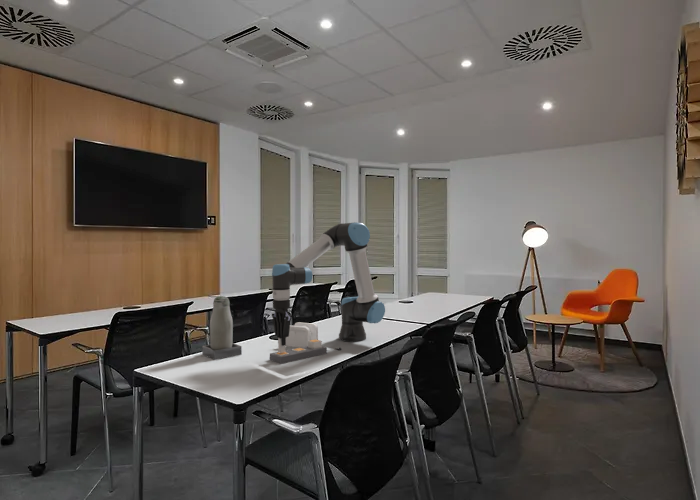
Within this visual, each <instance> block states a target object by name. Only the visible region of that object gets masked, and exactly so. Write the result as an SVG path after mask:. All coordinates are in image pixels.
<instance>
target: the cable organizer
mask: <svg viewBox="0 0 700 500" xmlns="http://www.w3.org/2000/svg"><path fill="white" fill-rule="evenodd" d="M315 339H316V340H319V327H318V325H317V324H316V323H309V322H300V321H299V322H295V323H294V325H291V324H290V330H289V337H286V345H285V347H287V348H288V347H293V348H300V347H305V346H308V341H310V340H315Z"/></svg>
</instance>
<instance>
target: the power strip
mask: <svg viewBox="0 0 700 500" xmlns="http://www.w3.org/2000/svg"><path fill="white" fill-rule="evenodd" d="M297 348H298V347H294V349H297ZM300 348H302V349H306V351H303V352H294V351H292V349H293V348H291V349H286V352H287V353H289V355H284V356H279V355H276V354H275V353H279V351H277V352H271V353H269V360H270V361H272V362H274V363H277V364H280V365H282V364H286V363H290V362H296V361H299V360H305V359H309V358H313V357H317V356H321V355H326V354H328V351H329V349H327V348H328V347H326V346H323V345H322V348H317V349H312V348H308V346H305V347H300ZM331 350H335V351H342V347H336V348H331V349H330V351H331Z"/></svg>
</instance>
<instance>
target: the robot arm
mask: <svg viewBox="0 0 700 500" xmlns="http://www.w3.org/2000/svg"><path fill="white" fill-rule="evenodd" d="M370 233H371V232H370V230H369V228H368V227H367V225H365V224H364V223H362V222H355V221H354V222H346V223H344V222H343V223H338V224H335V225H334V226H332V227H330V228H329V229H327V230H326V231H324V232H323V233H321V234H320V236H319V238H318V239H316V241H314V242H313V243H311V244H310V245H309V246H307V247H306V248H304V249H303V250H302V251H301V252H300V253H298V254H296V255H295V256H294V257H293V258H291V259H290V260H288V261H287V262H286V263H278V264H277V263H275V264H274V265H273V266H272V268H271V269H272V270H271V271H272V272H271V277H272V278H271V279H272V299H273V300H272V308H273V309H274V312H273V313H271V317H272V320H273V321H272V323H273V328H274V335H275V336H277V343H278V347H277V348H278V349H277V350H278V352H279V353H284V352H286V350H287V349H286V347H287V346H285V345H286V337H289V330H290V325H291V320H292V319H293V317H292V315H289V308H290V307H291V300H290V298H291V288H290V287H291V285H306V284H309V283H311V282H312V281H313V271H312V269H311V268H309V265H311V264H312V263H314V262H315V261H316V260H317V259H319V258H320V257H321V256H323V255H324V254H326V253H327V252H328V251H333V250H334V249H335V248H337V247H342V246H343V247H344V249H345V252H347V254H349V260H350V263H351V268H352V273H353V278H354V283H355V286H356V291H357V296H351V297H343V298H342V299H341V305H340V306H341V309H340V310H341V327H340V330H339V333H338V340H340V341H344V342H361V341H365V340H366V339H367V333H366V331H365V327H364V323H368V324H379V323H380V322H381V321H382V320H383V318H384V316H385V314H386V306H385V304H384V303H383V302H382V301H381V300H380V299H379V295H378V294H376V293H375V291H374V290H375V289H374V285H373V281H372V280H373V279H372V275H371V271H370V266H369V262H368V257H367V252H366V250H367V248H368V246H369V245H368V243H369V242H370V239H371V234H370Z"/></svg>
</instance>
